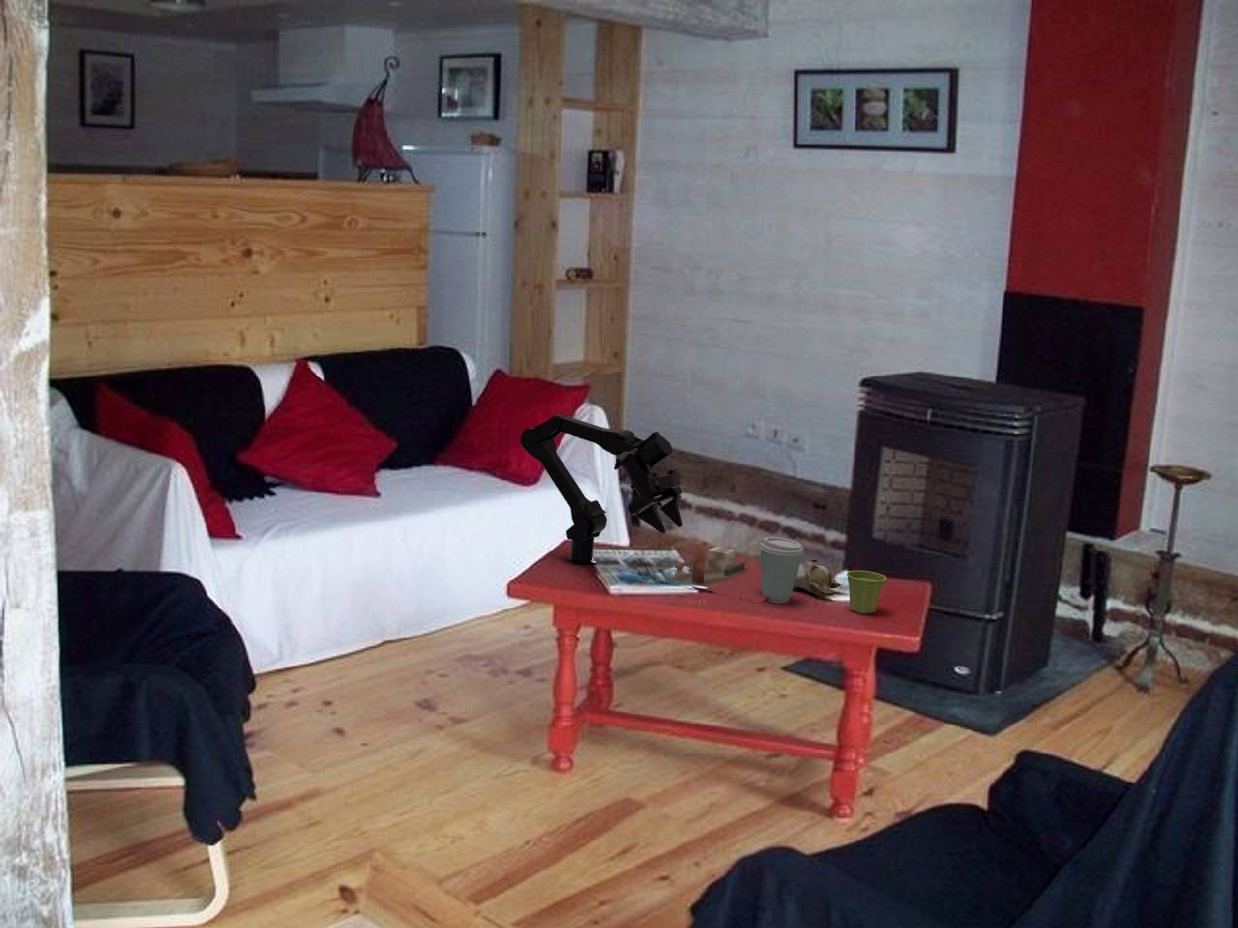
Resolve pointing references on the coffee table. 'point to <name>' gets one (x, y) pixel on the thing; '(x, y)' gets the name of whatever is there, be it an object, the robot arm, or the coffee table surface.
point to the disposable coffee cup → (779, 567)
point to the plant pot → (864, 590)
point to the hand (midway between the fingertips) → (672, 529)
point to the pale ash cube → (720, 559)
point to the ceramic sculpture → (815, 578)
